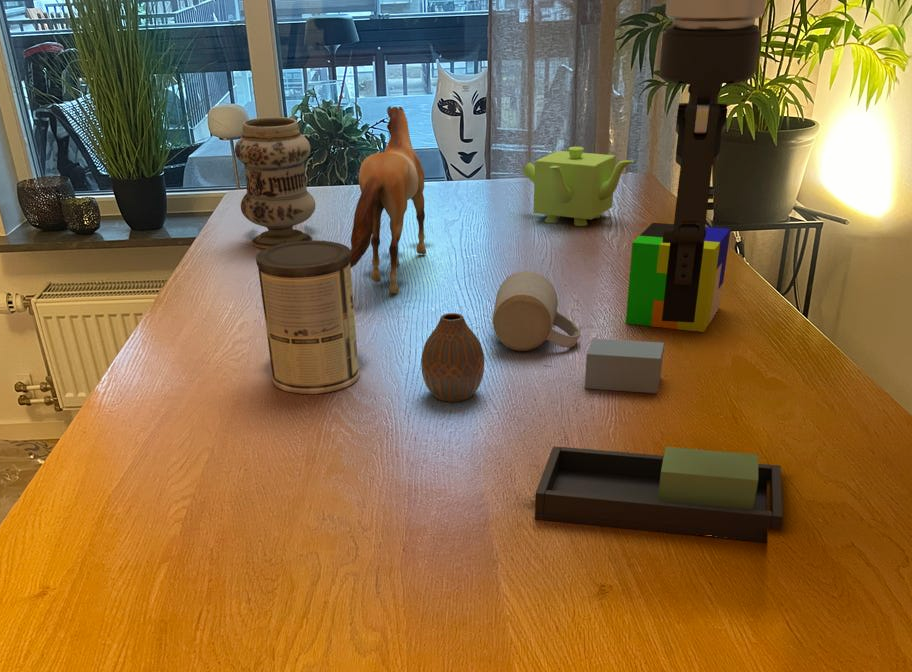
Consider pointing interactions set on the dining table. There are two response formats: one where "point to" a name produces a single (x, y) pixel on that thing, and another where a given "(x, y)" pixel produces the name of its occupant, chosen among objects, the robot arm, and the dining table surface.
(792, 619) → the dining table surface
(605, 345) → the grey block
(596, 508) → the black rectangular tray
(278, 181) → the apothecary jar
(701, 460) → the green rectangular block
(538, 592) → the dining table surface
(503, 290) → the ceramic mug
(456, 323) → the vase
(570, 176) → the kettle
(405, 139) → the horse figurine
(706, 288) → the puzzle toy
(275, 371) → the coffee can
